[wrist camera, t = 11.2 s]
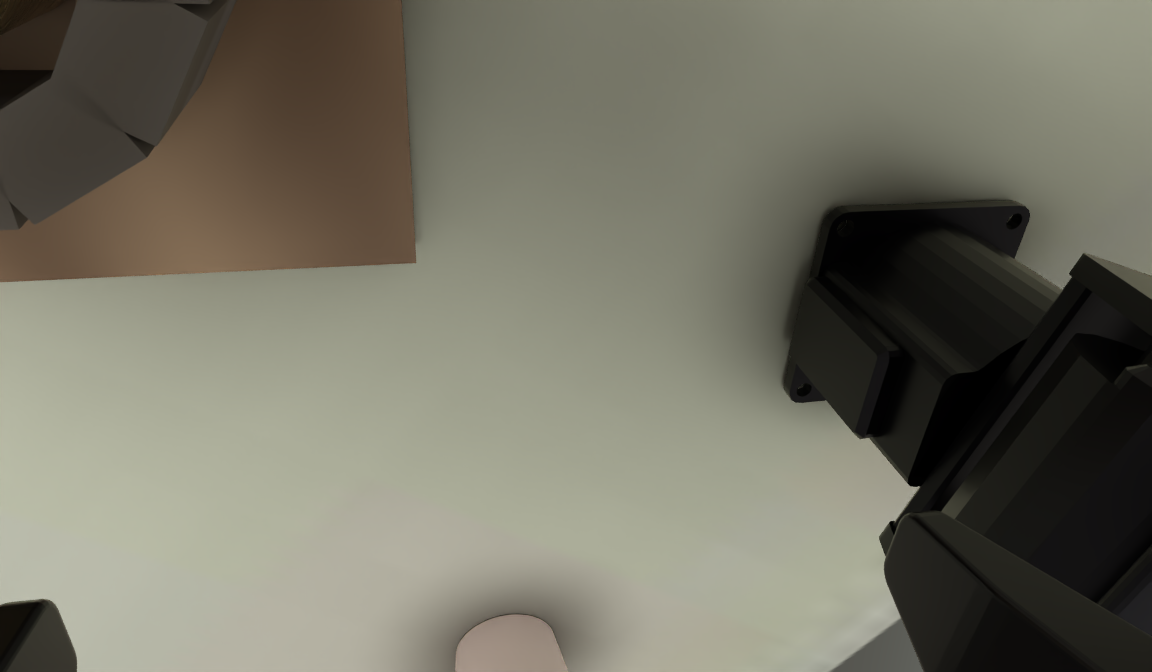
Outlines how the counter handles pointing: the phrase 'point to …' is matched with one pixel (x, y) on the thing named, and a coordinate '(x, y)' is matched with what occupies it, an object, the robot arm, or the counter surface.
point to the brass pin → (22, 12)
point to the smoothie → (510, 647)
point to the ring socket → (204, 138)
